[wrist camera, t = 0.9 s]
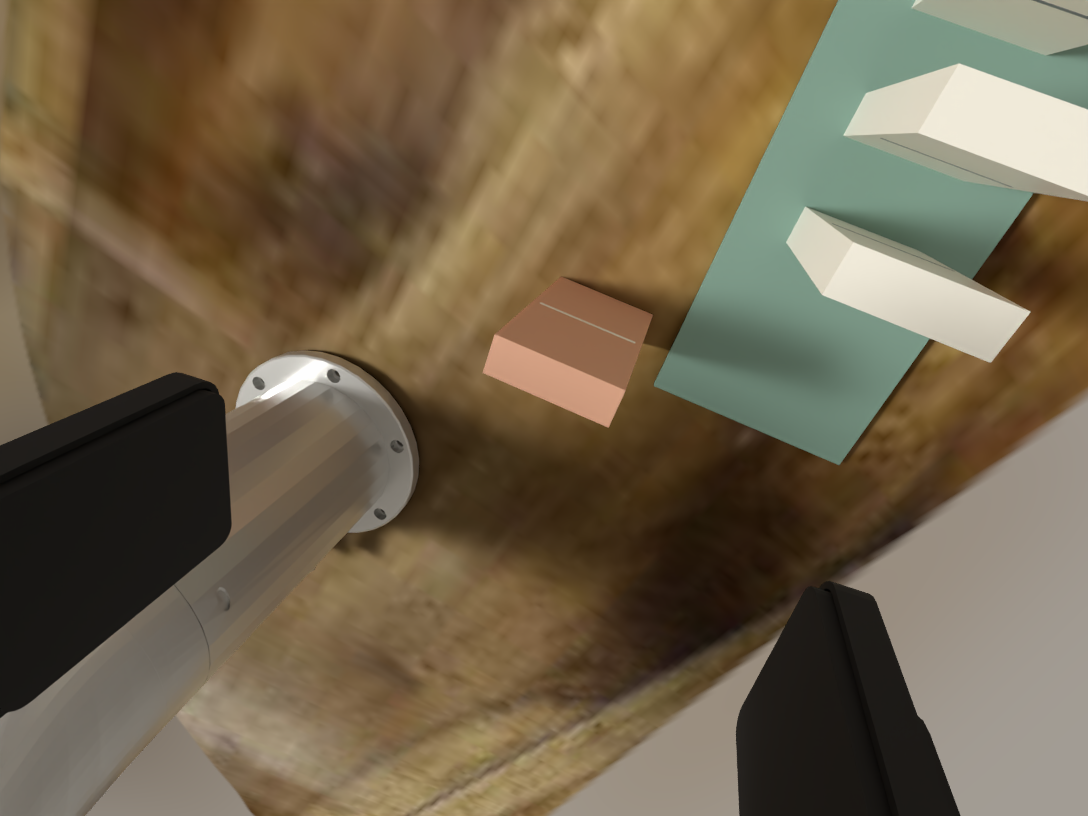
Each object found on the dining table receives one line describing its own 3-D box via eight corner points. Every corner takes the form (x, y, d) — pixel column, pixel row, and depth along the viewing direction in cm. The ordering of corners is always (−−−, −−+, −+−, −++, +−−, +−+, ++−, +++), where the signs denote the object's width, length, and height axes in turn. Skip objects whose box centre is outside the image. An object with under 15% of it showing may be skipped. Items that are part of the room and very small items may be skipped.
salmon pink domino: (640, 343, 30) (608, 427, 21) (550, 305, 30) (482, 372, 21) (653, 314, 29) (625, 390, 20) (561, 276, 29) (495, 333, 21)
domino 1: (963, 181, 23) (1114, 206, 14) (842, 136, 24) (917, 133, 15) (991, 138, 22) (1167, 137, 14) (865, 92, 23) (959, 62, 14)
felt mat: (837, 461, 30) (839, 465, 29) (654, 383, 30) (653, 385, 30) (1357, -271, 17) (1371, -280, 16) (1016, -370, 18) (1022, -381, 17)
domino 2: (895, 285, 25) (990, 363, 16) (785, 242, 26) (821, 295, 17) (918, 250, 25) (1031, 311, 16) (805, 206, 25) (853, 241, 16)
